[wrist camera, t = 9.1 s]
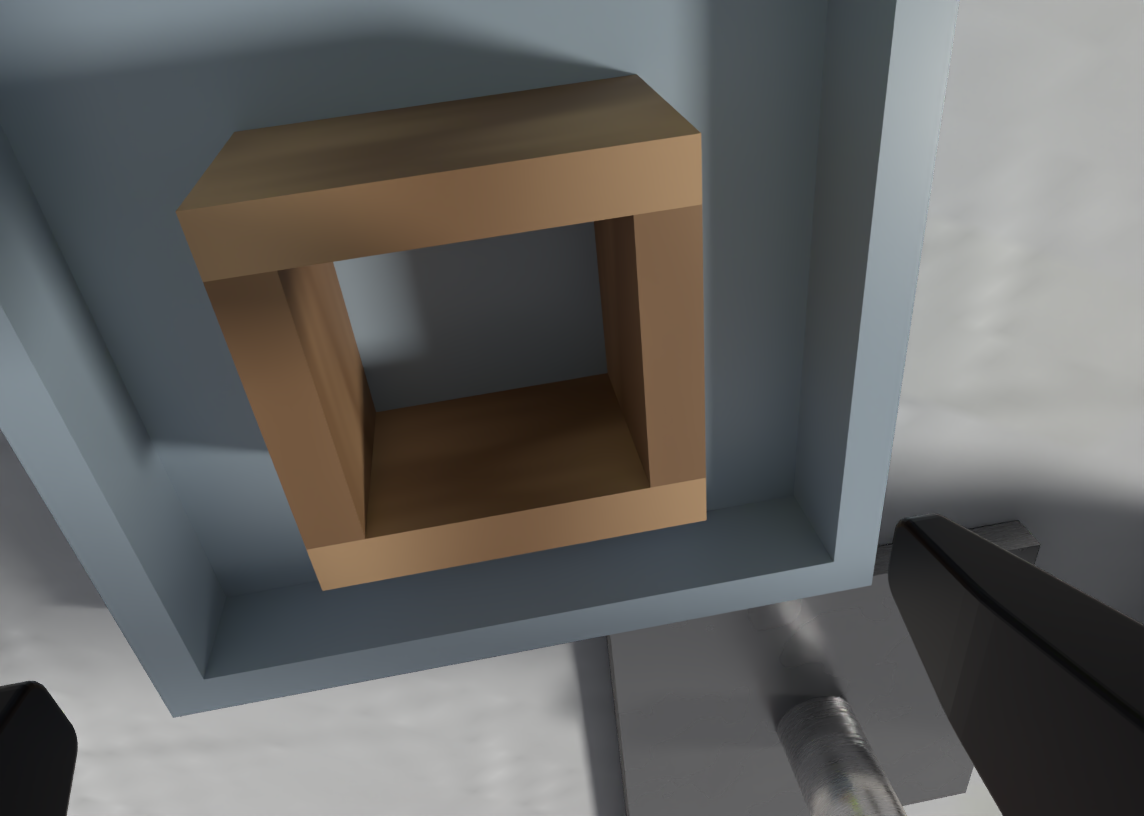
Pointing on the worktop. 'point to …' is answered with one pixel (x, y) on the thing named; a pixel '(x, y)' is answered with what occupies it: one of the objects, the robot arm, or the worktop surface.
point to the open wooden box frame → (482, 422)
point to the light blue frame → (452, 311)
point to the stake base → (788, 708)
